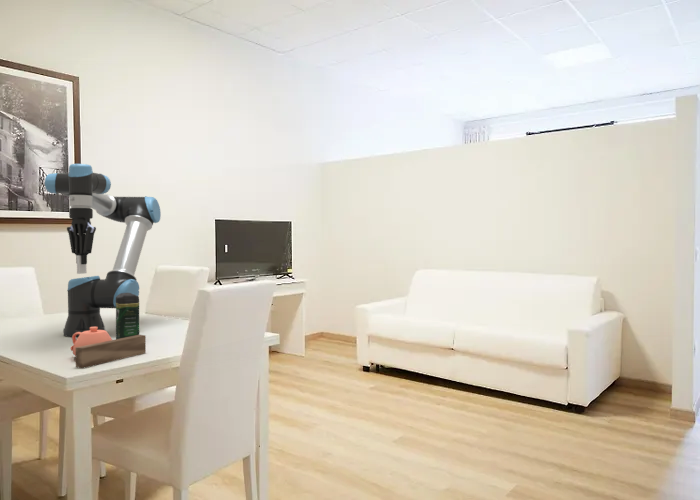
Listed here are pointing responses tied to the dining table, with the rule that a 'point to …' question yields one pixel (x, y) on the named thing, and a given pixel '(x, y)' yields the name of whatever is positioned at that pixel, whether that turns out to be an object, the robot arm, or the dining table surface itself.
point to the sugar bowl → (89, 338)
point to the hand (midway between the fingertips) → (81, 273)
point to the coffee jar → (127, 315)
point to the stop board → (110, 350)
